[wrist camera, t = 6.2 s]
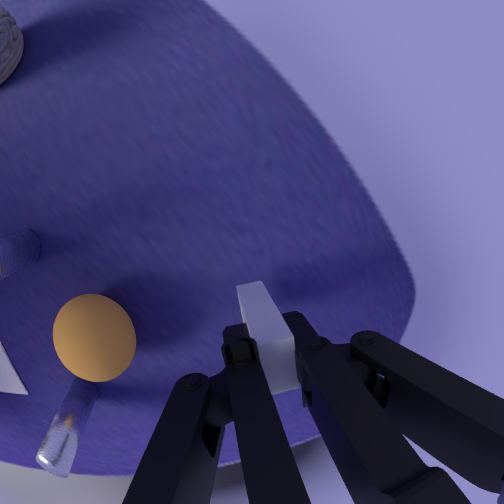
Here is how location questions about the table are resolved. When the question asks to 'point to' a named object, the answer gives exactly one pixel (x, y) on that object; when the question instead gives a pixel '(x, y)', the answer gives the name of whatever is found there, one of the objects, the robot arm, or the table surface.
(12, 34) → the carving
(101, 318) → the ball
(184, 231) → the table surface
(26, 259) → the post
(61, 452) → the post
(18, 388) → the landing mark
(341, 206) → the table surface
